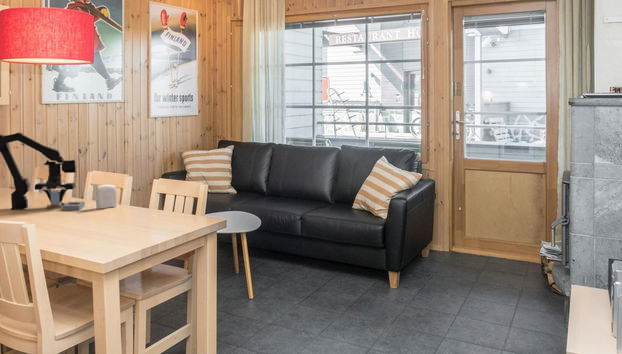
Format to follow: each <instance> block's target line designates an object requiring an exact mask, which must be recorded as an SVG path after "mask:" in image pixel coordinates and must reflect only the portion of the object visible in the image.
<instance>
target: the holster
mask: <svg viewBox="0 0 622 354" xmlns="http://www.w3.org/2000/svg"><path fill="white" fill-rule="evenodd" d="M65 204H66V202H61V205H51V204H47V205H46V209H63V207H62V206H63V205H65Z"/></svg>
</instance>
